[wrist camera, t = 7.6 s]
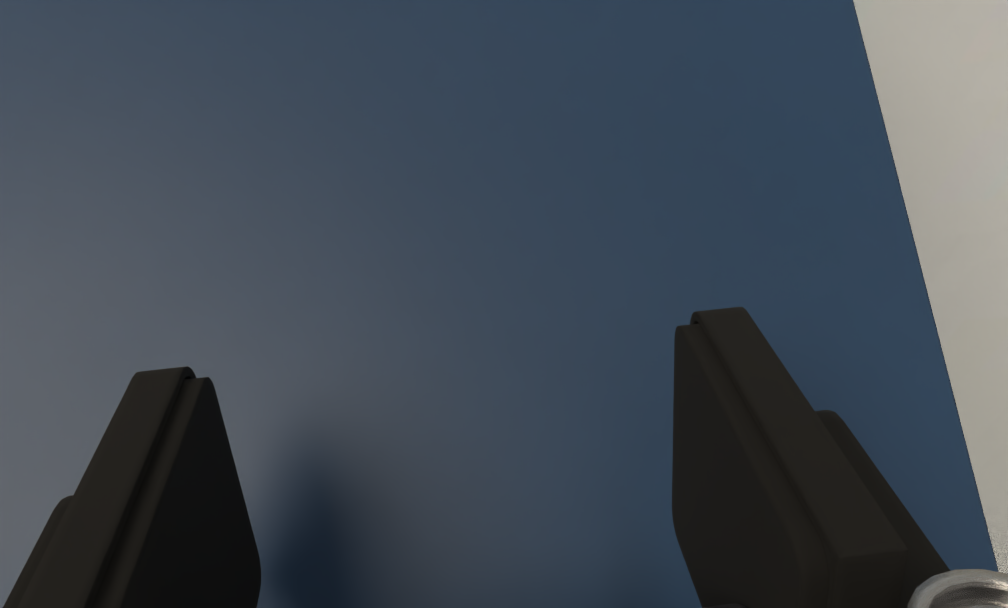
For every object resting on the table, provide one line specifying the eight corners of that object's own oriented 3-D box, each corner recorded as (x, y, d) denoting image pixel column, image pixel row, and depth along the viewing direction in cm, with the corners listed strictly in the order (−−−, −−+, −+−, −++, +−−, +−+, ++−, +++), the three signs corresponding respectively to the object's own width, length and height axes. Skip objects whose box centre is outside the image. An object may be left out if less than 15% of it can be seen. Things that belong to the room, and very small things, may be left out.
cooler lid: (1025, 792, 12) (1423, 969, 7) (-30, 939, 12) (-465, 1249, 6) (810, -76, 16) (966, -396, 10) (-3, 7, 15) (-268, -284, 10)
